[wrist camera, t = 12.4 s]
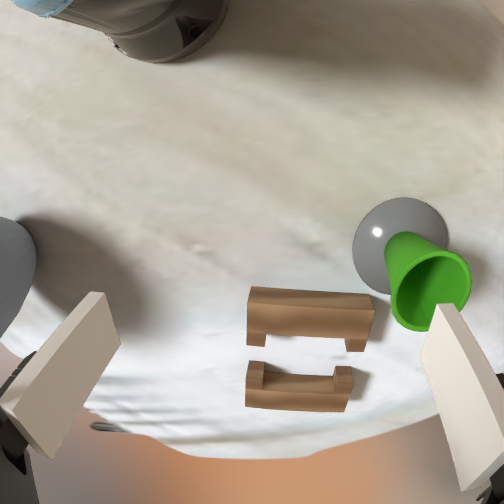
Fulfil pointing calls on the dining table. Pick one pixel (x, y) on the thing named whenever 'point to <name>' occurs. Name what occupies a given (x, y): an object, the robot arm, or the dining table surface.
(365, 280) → the coaster
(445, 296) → the cup
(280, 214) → the dining table surface
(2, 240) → the vase
